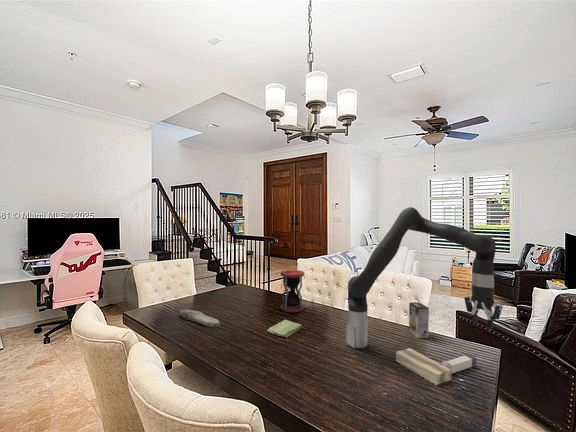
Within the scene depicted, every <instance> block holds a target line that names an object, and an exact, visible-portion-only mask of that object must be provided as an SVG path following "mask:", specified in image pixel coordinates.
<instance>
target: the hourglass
mask: <svg viewBox="0 0 576 432" xmlns="http://www.w3.org/2000/svg"><path fill="white" fill-rule="evenodd" d="M280 275H281V276H282V279H283V280H282V283H283V287H284V291H283V293H282V304H281V305H280V306H279V308H280V310H282V311H283V312H286V313H287V312H288V313H297V312H302V311H304V309H305V306H304V304H302V303H303V297H302V294H301V289H302V286H303V276H304V275H305V272H304V271H302V270H300V269H299V270H297V269H286V270H285V269H284V270H282V271H280Z"/></svg>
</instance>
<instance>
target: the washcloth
mask: <svg viewBox="0 0 576 432" xmlns="http://www.w3.org/2000/svg"><path fill="white" fill-rule="evenodd" d="M302 327H303V325H302V324H300V323H296V322H293V321H290V320H288V319H284V320H282V321H280V322H278V323H277V324H274V325H273V326H271V327H269V328H268V329H267V330H266V332H267V333H269V334H272V335H274V336H281V337H282V338H284V339H285V338H288V337H290V336H292V335H293V334H295V333H296V332H298V331H299V330H301V329H302Z"/></svg>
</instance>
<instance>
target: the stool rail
mask: <svg viewBox="0 0 576 432" xmlns="http://www.w3.org/2000/svg"><path fill="white" fill-rule="evenodd" d="M395 362H397V363H399V364H400V365H402V366H404V367H405V368H407V369H409V370H410V371H412V372H413V373H415V374H417V375H418V374H419V375H418V376H419V377H422V378H423V377H424V380H427V381H428V380H429V381H428V382H430V383H432V384H433V383H434V384H433V385H435V386H439V385H441V383H442V384H444V383H443V382H445V383H447V382H450V381H451V380H452V374H451V369H449V368H447V367H445V366H443V365H442V363H439V362H437V361H435V360H433V359H431V358H429V357H427V356H426V355H424V354H422V353H420V352H418V351H416V350H415V349H413V348H405V349H401V350H398V351H396V352H395ZM449 380H450V381H449ZM446 381H447V382H446ZM438 384H439V385H438Z"/></svg>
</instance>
